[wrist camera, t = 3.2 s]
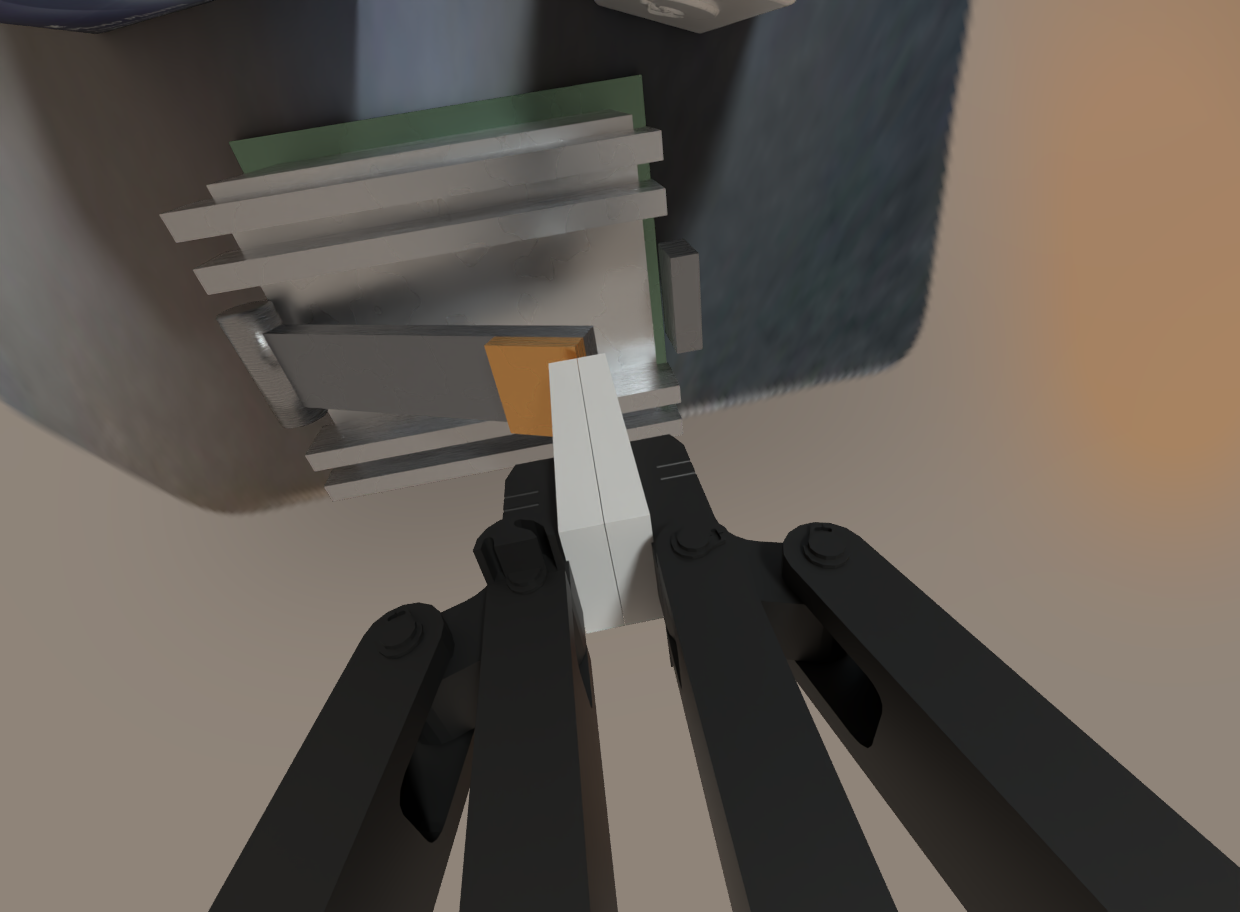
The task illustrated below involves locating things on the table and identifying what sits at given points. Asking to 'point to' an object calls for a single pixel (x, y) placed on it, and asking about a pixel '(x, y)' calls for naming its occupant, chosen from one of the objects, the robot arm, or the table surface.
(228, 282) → the heatsink
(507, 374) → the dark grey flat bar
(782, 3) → the jar
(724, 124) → the table surface
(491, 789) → the robot arm
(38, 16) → the small box
